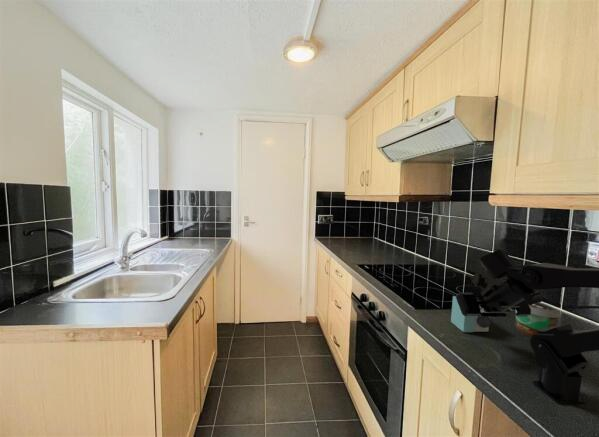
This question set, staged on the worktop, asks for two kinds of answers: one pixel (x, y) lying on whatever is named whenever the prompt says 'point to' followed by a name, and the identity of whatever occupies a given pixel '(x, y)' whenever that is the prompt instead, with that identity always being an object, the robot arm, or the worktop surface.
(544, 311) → the food container
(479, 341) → the worktop surface
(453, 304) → the teal block
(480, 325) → the camera housing
